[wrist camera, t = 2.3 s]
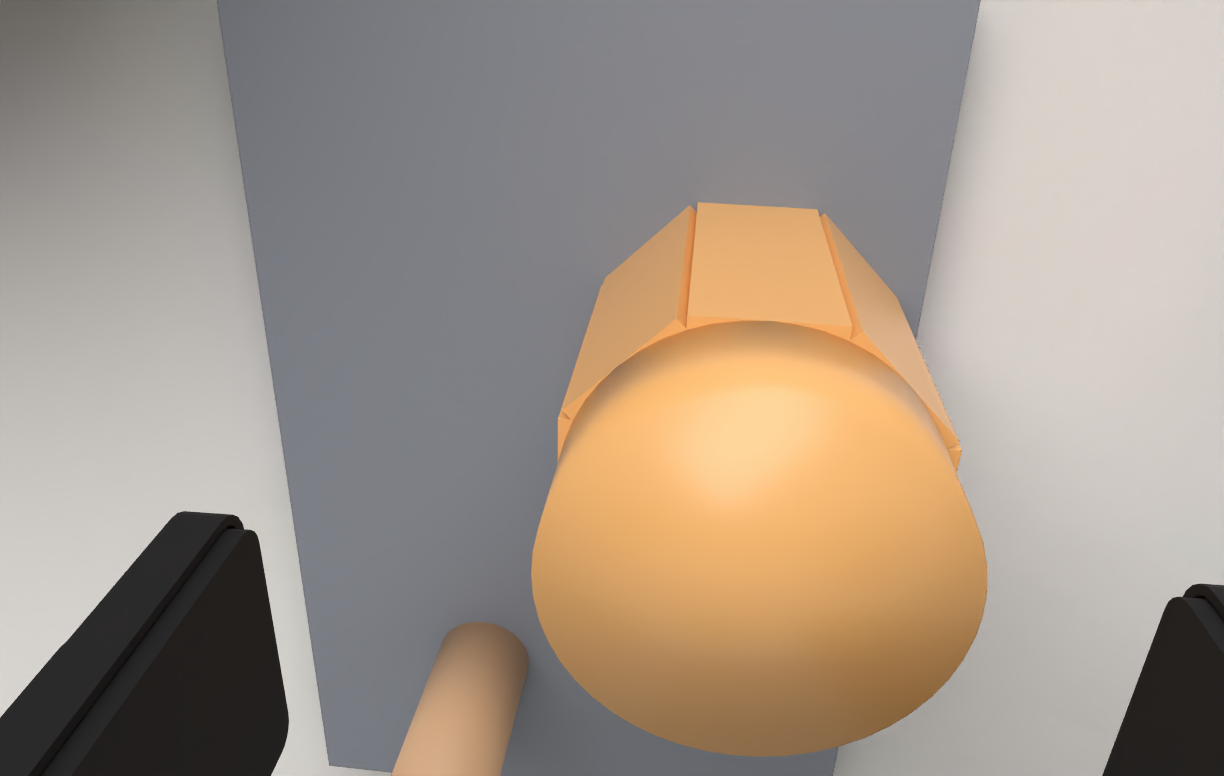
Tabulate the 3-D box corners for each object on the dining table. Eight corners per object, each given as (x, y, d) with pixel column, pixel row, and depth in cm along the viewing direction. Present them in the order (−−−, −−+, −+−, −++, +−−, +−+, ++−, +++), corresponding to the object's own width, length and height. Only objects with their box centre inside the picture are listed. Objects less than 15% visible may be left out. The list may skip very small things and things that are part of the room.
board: (963, -11, 15) (1080, 31, 10) (819, 778, 24) (845, 1017, 19) (245, -40, 16) (30, -14, 11) (346, 728, 25) (247, 942, 19)
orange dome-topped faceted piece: (914, 215, 16) (1035, 413, 10) (867, 480, 18) (940, 777, 12) (604, 196, 16) (529, 377, 10) (597, 458, 19) (532, 734, 12)
